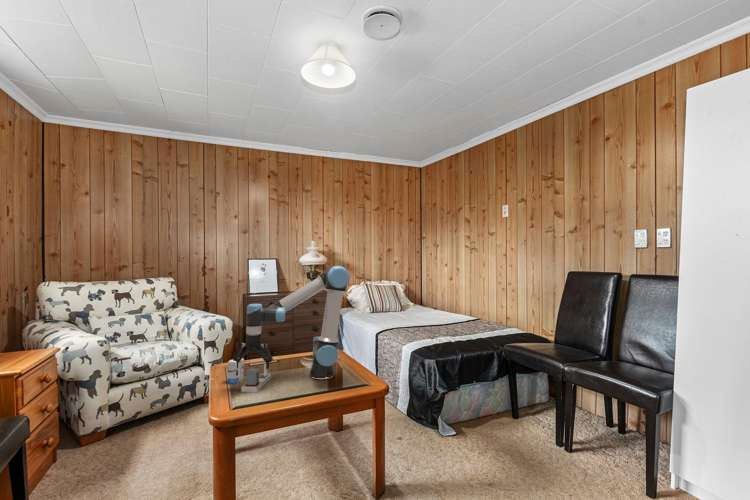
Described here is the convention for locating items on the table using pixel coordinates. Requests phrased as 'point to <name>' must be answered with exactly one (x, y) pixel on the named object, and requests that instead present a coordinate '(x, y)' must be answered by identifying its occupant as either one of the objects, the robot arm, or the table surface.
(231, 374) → the ink box
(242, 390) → the white piece
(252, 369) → the grey rectangular block
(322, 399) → the table surface
